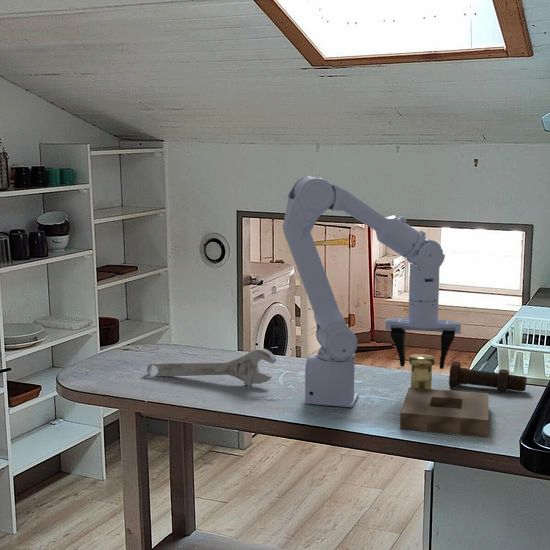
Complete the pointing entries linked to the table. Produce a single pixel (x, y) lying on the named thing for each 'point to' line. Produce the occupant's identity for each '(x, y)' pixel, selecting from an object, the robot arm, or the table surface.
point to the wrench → (220, 367)
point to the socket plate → (445, 411)
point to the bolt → (486, 379)
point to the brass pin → (421, 370)
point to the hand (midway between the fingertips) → (422, 366)
